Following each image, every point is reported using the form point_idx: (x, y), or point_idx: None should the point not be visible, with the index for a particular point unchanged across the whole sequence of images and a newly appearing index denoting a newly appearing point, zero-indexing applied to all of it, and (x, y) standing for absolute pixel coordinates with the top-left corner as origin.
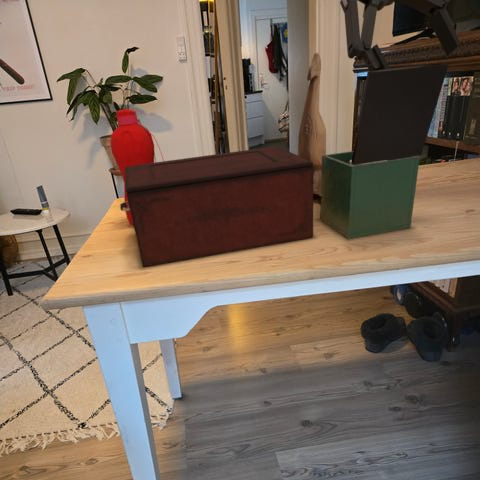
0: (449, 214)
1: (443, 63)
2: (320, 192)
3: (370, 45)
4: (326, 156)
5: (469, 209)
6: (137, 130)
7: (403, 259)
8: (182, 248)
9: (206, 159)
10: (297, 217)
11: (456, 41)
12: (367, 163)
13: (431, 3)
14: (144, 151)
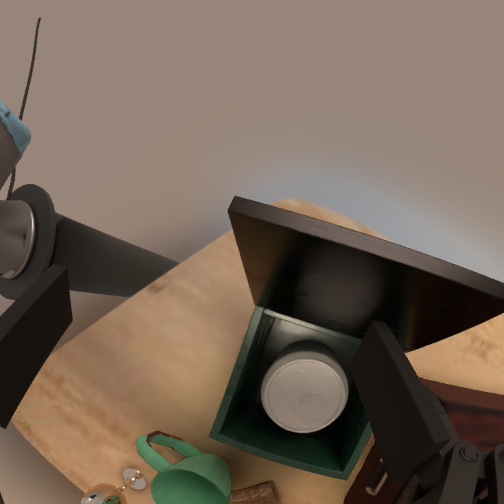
0: (184, 300)
1: (241, 210)
2: (265, 496)
3: (459, 447)
4: (351, 466)
5: (149, 292)
6: None
7: (373, 231)
8: None
9: None
10: (437, 386)
11: (56, 273)
12: (319, 385)
13: None
14: None
